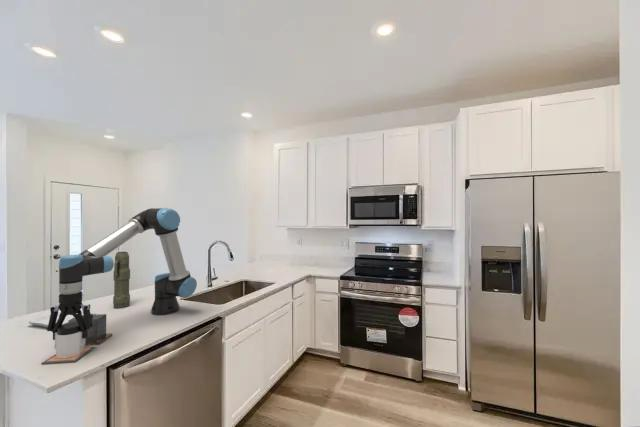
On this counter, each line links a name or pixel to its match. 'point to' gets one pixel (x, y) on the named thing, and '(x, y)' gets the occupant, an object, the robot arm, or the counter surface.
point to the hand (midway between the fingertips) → (70, 346)
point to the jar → (68, 341)
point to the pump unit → (96, 330)
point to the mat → (68, 360)
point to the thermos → (121, 281)
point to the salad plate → (45, 320)
